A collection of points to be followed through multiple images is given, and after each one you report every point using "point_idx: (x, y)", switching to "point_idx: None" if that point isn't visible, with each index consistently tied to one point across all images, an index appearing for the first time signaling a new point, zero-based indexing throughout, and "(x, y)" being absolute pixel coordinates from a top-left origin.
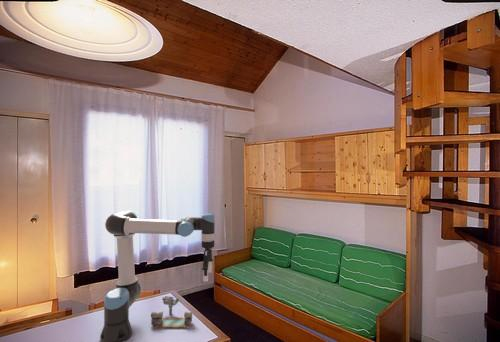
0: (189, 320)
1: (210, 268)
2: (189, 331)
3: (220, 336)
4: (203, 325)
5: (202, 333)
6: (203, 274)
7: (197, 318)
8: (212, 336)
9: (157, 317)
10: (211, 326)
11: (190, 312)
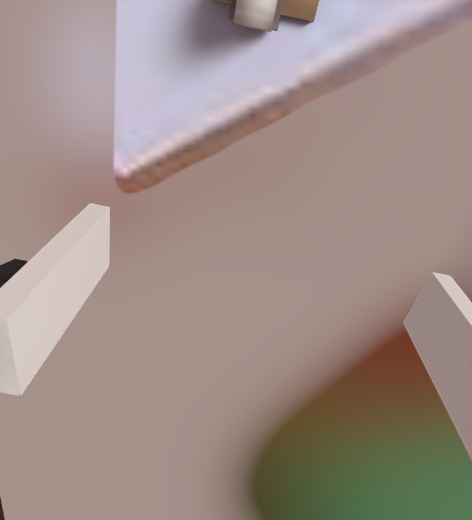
0: (230, 10)
1: (432, 354)
2: (176, 15)
3: (120, 187)
4: (227, 107)
5: (150, 99)
6: (35, 256)
7: (314, 70)
8: (122, 150)
9: None
10: (210, 152)
11: (248, 14)
